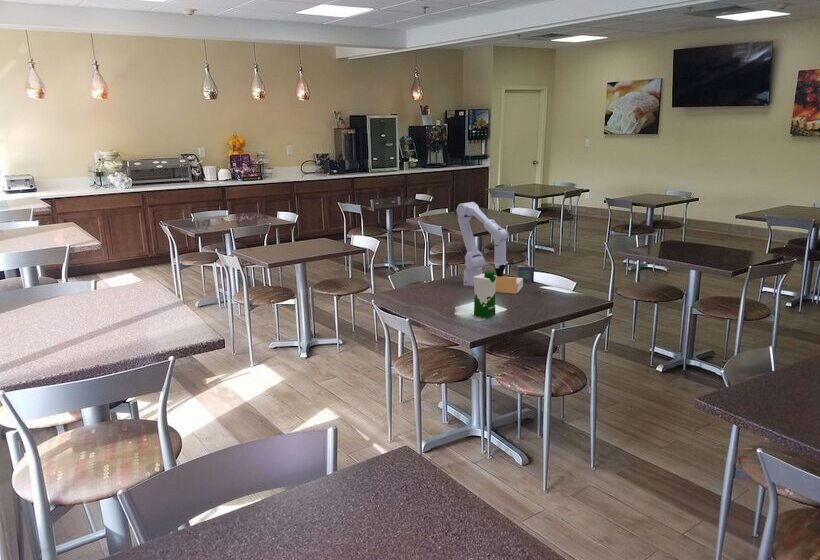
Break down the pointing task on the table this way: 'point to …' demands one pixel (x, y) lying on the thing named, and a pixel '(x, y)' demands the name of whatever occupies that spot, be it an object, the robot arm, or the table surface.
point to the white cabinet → (519, 284)
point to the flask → (526, 273)
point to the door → (506, 285)
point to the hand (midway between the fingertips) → (499, 279)
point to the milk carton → (484, 294)
